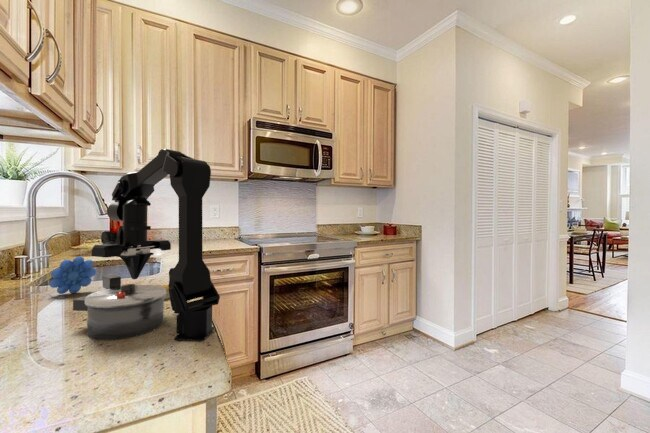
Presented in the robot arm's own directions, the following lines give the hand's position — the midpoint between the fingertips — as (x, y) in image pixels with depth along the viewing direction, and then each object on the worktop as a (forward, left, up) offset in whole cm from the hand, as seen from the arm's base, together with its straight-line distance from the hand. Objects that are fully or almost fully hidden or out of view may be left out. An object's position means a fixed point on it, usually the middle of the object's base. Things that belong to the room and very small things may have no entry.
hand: (134, 279), depth 81 cm
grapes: (+31, -16, -9) cm, 36 cm away
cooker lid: (-4, +9, -2) cm, 10 cm away
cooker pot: (-4, +11, -9) cm, 14 cm away
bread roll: (+1, -14, -9) cm, 17 cm away
